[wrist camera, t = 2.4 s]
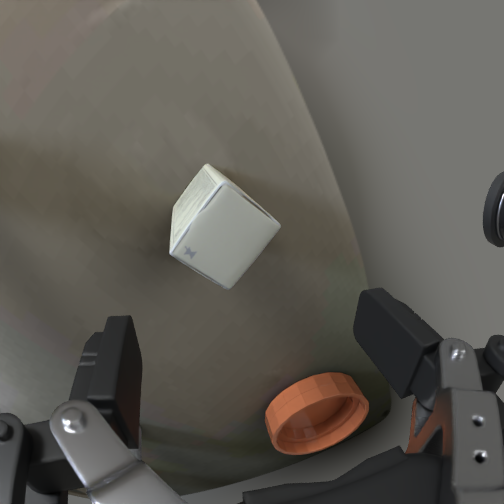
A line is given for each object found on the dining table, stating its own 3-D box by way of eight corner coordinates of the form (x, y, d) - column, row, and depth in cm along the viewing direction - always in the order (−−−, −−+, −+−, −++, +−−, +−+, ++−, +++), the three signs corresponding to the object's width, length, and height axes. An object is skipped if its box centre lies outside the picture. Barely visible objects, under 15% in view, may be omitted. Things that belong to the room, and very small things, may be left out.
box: (209, 234, 28) (226, 296, 18) (170, 207, 26) (163, 257, 16) (245, 188, 27) (285, 226, 17) (207, 159, 25) (224, 178, 15)
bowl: (363, 359, 39) (380, 382, 35) (343, 418, 45) (355, 439, 40) (265, 379, 37) (276, 408, 32) (261, 437, 42) (269, 462, 37)
